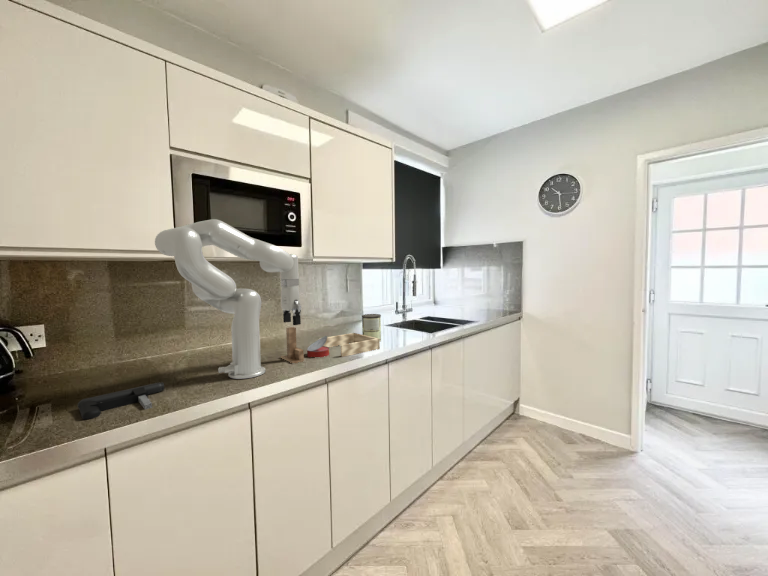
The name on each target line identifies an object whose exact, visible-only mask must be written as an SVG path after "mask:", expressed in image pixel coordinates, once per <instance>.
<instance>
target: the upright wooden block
mask: <svg viewBox="0 0 768 576" xmlns="http://www.w3.org/2000/svg"><path fill="white" fill-rule="evenodd" d="M285 330H286V355H281V356H280V359H281V358H282V359H281V360H283V359H285V360H287V361H289V362H291V363H295V364H299V363H298V362H300V363H304V362H303V361H305V357H304V349H302V348H299V347H298V346H297V327H295V326H291V327H290V326H289V327H288V326H287V327H286V329H285ZM285 360H284V361H285ZM287 361H286V362H287ZM289 362H288V363H289ZM291 363H290V364H291Z"/></svg>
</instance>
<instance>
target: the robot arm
mask: <svg viewBox="0 0 768 576" xmlns="http://www.w3.org/2000/svg"><path fill="white" fill-rule="evenodd" d="M154 246H155V249H156V250H157V251H158V252H159V253H160V254H162V255H164V256H168V257H174V261H175V266H176V268H177V271H178V273H179V275H180V276H181V277H182V278H184V279H185V280H186V281H188V282H189V283H190V284H191V288H192V289H191V290H192V292H193V293H194V295H195V296H196V297H197V298H198V299H200V300H201V301H203V302H205V303H206V304H209V305H210V306H212V307H213V308H215V309H217V310H219V311H220V312H223V313H226V314H233V318H232V320H231V321H232V322H231V326H230V327H231V329H230V330H231V352H232V362H230V364H229V365H227V366H219V367H218V368H217V370H218V373H219V374H222V373H224V374H228V378H230V379H233V380H234V379H236V380H240V379H242V380H243V379H251V378H255V377H259V376H261V375H263V374H265V373H266V368H265V367H264V366H262V363H261V361H262V359H261V358H262V357H261V334H260V333H261V332H260V331H261V330H260V316H261V309H262V297H261V295H260V294H259V293H258V292H257V291H256V290H254V289H251V288H243V287H242V288H237V284H236V282H235V280H234V279H233V278H232V277H231V276H229V275H228V274H227V273H225V272H224V271H222V270H220V269H219V268H218V267H216V266H215V265H213V264H212V263H211V262H210V261H208V260H207V259H206V258H205V256H204V253H203V247H205V246H214V247H217V248H219V249H221V250H223V251H225V252H227V253H230V254H231V255H234V256H235V257H237V258H240V259H244V260H249V261H258V262H259V266H260V268H261V270H263V271H264V272H266V273H280V288H281V290H280V308H281V310H282V317H283V323H284V324H285V323H291V322H292V326H298V325H301V324H302V321H301V318H302V317H301V314H302V313H301V312H302V311H301V310H302V304H301V297H300V296H301V295H300V289H299V287H300V275H299V271H300V270H299V258H298V255H297V254H294V253H293V254H292V253H289V252H288V251H286V250H284V249H282V248H281V247H279V246H277V245H275V244H272V243H269V242H266V241H263V240H260V239H257V238H254V237H251V236H250V235H247V234H245V233H244V232H243V231H240V230H238V229H237V228H235V227H233V226H232V225H230V224H228V223H226V222H224V221H222V220H220V219H216V218H213V219H207V220H202V221H197V222H193V223H190V224H186V225H182V226H178V227H174V228H169V229H164V230H161V231H160V232H158V233H157V235H156V236H155V238H154ZM291 312H292V313H291ZM291 314H292V316H291Z"/></svg>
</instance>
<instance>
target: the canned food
mask: <svg viewBox="0 0 768 576" xmlns="http://www.w3.org/2000/svg"><path fill="white" fill-rule="evenodd" d="M327 337H328V336H327V335H325V336H322V337H320V339H319V338H318V339H316V341H314V342H313V343H311V344H310V345H309V346H308V347H307V349H306V351H307V352H306V355H307V357H308V358H311V357H320V358H325V357H328V356H330V347H326V346H323V345H324V344H325V343H326V340H327ZM324 356H325V357H324Z"/></svg>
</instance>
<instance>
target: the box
mask: <svg viewBox="0 0 768 576" xmlns="http://www.w3.org/2000/svg"><path fill="white" fill-rule="evenodd" d="M320 338H321V337H320ZM320 338H318V339H320ZM380 342H381V341H380V339H379V338H374V337H370V336H366V335H362V334H360V333H357V332H352V333H346V334H339V335H333V336H327V340H326V343H325V344H324V345H323V346H326V347H329V348H333V346H334V347H338V345H340V357H348V356H353V355H357V354H363V353H367V352H372V350H373V351H377V350H380V347H381V343H380ZM349 343H350V344H349ZM376 349H377V350H376Z"/></svg>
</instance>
